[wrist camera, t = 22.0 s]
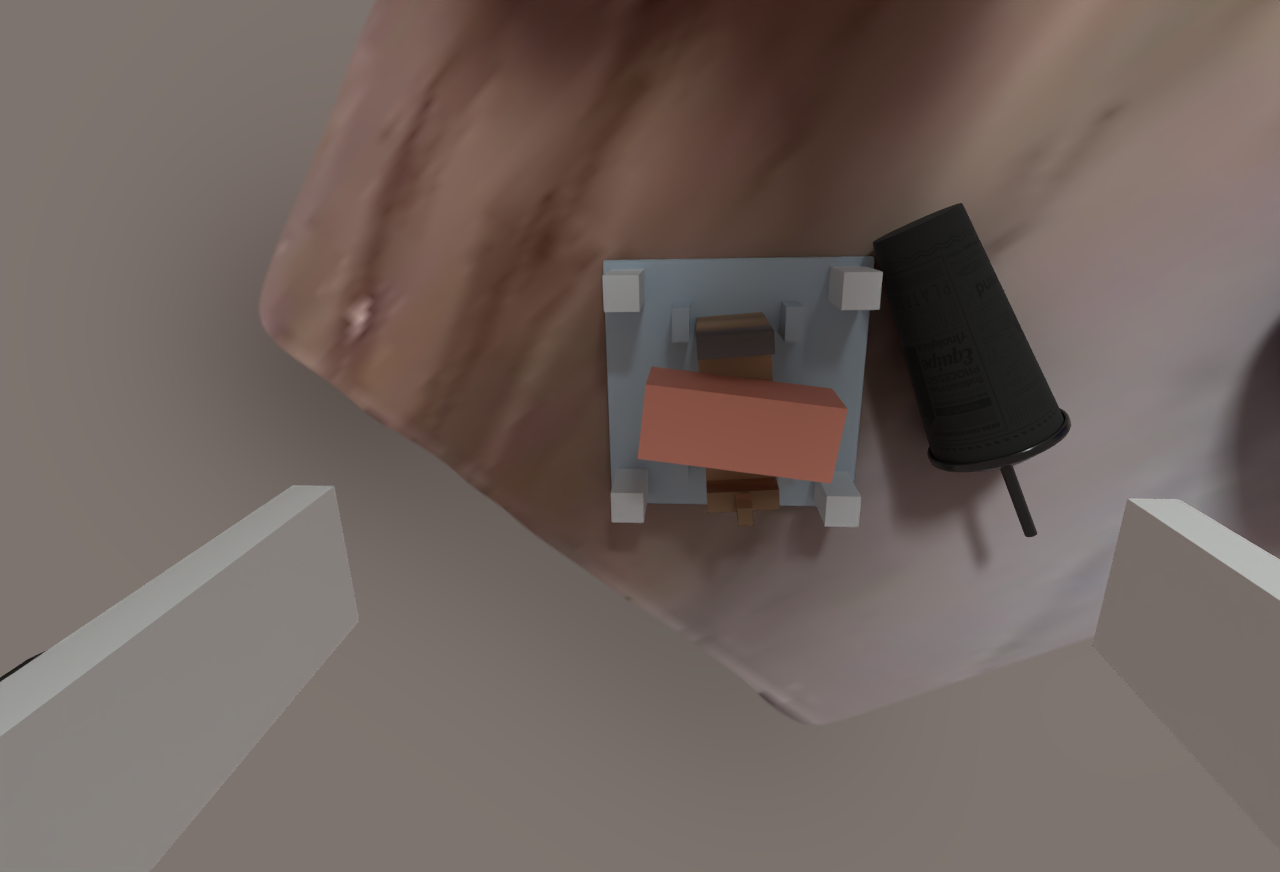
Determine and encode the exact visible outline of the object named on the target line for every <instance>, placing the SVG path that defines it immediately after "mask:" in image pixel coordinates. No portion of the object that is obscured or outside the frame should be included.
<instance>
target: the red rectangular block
mask: <svg viewBox="0 0 1280 872" xmlns="http://www.w3.org/2000/svg"><path fill="white" fill-rule="evenodd" d="M847 410H848V409H847V408H846V406H845V405H844V404H843V402H842V401H841V400H840V398H839V397H838V396H837V394H836V393H835V392H834V390H833V389H832V388H824V387H816V386H808V385H799V384H791V383H783V382H775V381H766V380H758V379H750V378H742V377H733V376H725V375H717V374H709V373H700V372H692V371H684V370H676V369H668V368H659V367H651V369H650V372H649V376H648V379H647V382H646V387H645V396H644V405H643V414H642V423H641V432H640V441H639V450H638V459H643V460H651V461H659V462H667V463H674V464H682V465H690V466H698V467H706V468H713V469H721V470H729V471H737V472H745V473H753V474H760V475H768V476H776V477H784V478H792V479H799V480H807V481H815V482H823V483H832V479H833V474H834V470H835V465H836V460H837V456H838V451H839V447H840V442H841V437H842V433H843V428H844V424H845V419H846V414H847Z"/></svg>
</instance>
